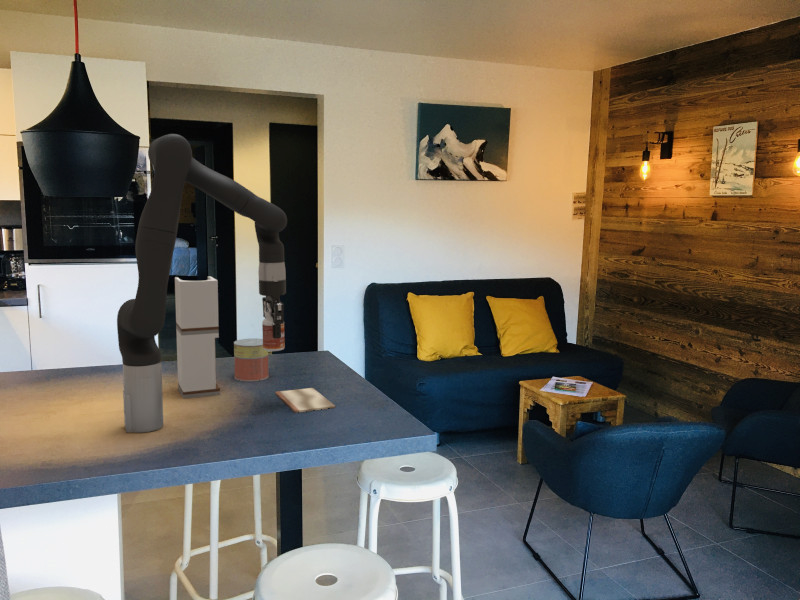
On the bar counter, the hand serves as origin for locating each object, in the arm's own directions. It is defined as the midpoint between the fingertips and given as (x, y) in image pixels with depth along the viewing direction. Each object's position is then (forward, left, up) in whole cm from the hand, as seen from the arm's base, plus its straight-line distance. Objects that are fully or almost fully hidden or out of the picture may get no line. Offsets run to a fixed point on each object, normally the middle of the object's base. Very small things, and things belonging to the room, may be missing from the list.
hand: (273, 335), depth 186 cm
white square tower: (-18, +21, -21) cm, 34 cm away
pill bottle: (0, 0, -4) cm, 4 cm away
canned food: (+1, +32, -21) cm, 38 cm away
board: (+9, 0, -20) cm, 22 cm away
